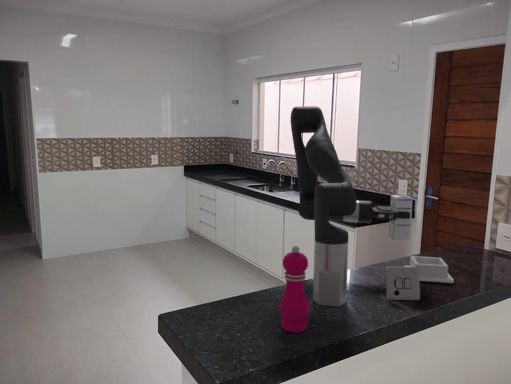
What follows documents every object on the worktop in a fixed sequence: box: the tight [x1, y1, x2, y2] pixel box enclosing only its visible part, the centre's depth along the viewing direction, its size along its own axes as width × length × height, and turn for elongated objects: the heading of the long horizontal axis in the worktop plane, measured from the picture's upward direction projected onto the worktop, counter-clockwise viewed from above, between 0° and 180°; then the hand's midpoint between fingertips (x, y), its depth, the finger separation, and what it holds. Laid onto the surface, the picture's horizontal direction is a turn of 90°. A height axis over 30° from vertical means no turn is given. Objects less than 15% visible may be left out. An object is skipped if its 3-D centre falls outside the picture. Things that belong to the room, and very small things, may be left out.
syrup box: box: [388, 194, 413, 241], centre depth 140 cm, size 6×6×14 cm
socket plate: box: [404, 255, 454, 284], centre depth 140 cm, size 13×13×5 cm
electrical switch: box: [385, 265, 421, 301], centre depth 120 cm, size 9×5×9 cm, turn 88°
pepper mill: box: [278, 245, 310, 333], centre depth 100 cm, size 7×7×20 cm
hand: (407, 213), depth 140 cm, fingers closed on syrup box, 6 cm apart
